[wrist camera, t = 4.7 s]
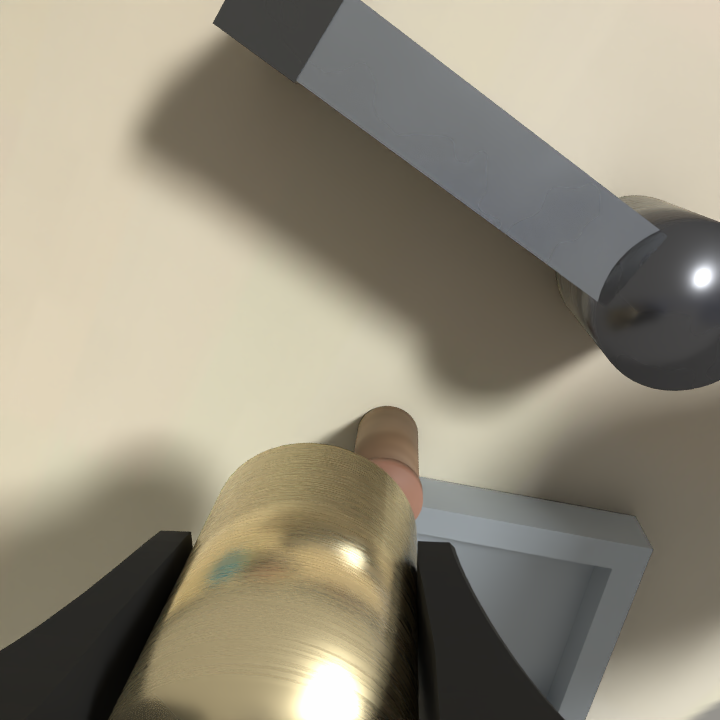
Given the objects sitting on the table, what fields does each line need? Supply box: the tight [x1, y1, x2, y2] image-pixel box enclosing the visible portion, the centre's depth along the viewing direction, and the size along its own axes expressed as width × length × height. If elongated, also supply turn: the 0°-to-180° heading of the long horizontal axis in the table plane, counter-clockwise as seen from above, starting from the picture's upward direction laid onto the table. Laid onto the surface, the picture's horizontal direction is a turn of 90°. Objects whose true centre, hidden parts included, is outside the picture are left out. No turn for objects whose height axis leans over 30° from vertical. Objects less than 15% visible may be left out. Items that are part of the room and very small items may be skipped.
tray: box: [415, 477, 653, 720], centre depth 24 cm, size 10×9×2 cm
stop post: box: [354, 406, 423, 520], centre depth 20 cm, size 2×2×4 cm
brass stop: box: [108, 443, 419, 720], centre depth 12 cm, size 4×4×6 cm
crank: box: [213, 0, 720, 391], centre depth 17 cm, size 14×4×5 cm, turn 55°
